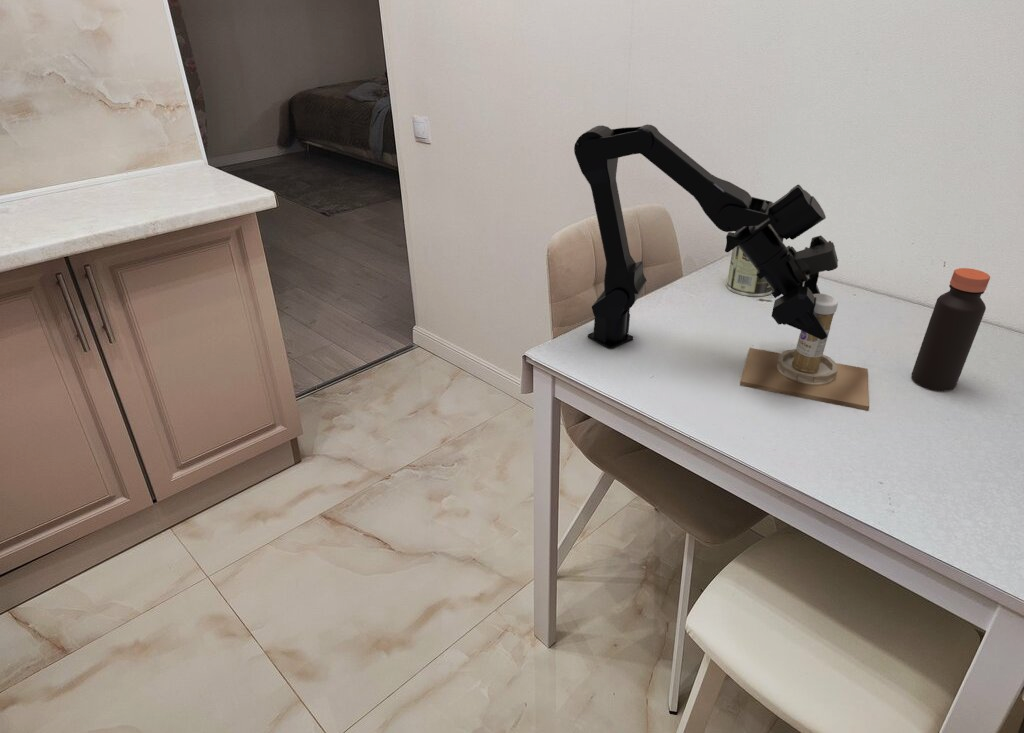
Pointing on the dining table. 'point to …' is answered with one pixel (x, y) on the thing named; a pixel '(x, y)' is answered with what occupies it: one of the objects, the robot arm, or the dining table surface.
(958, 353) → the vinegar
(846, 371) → the dish board
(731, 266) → the coffee can
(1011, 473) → the dining table surface
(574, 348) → the dining table surface
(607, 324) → the robot arm
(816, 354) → the sprinkles bottle
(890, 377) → the dining table surface
